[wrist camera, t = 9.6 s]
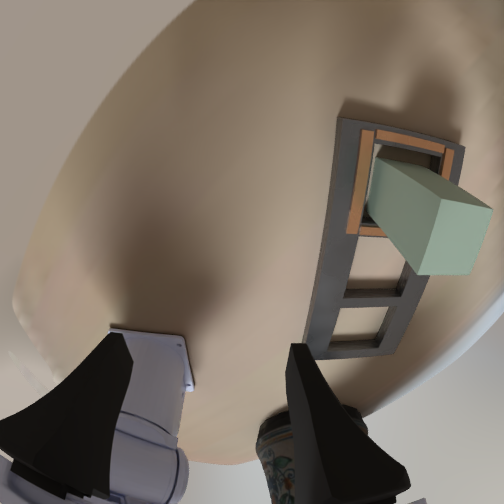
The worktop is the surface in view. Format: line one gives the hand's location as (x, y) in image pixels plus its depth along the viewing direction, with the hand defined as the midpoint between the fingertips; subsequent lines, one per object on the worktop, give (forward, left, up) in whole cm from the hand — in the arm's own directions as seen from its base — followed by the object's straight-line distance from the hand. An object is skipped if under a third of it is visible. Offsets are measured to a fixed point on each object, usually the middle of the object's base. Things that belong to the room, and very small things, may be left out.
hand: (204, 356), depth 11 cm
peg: (+5, -12, -10) cm, 17 cm away
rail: (-2, -12, -10) cm, 16 cm away
